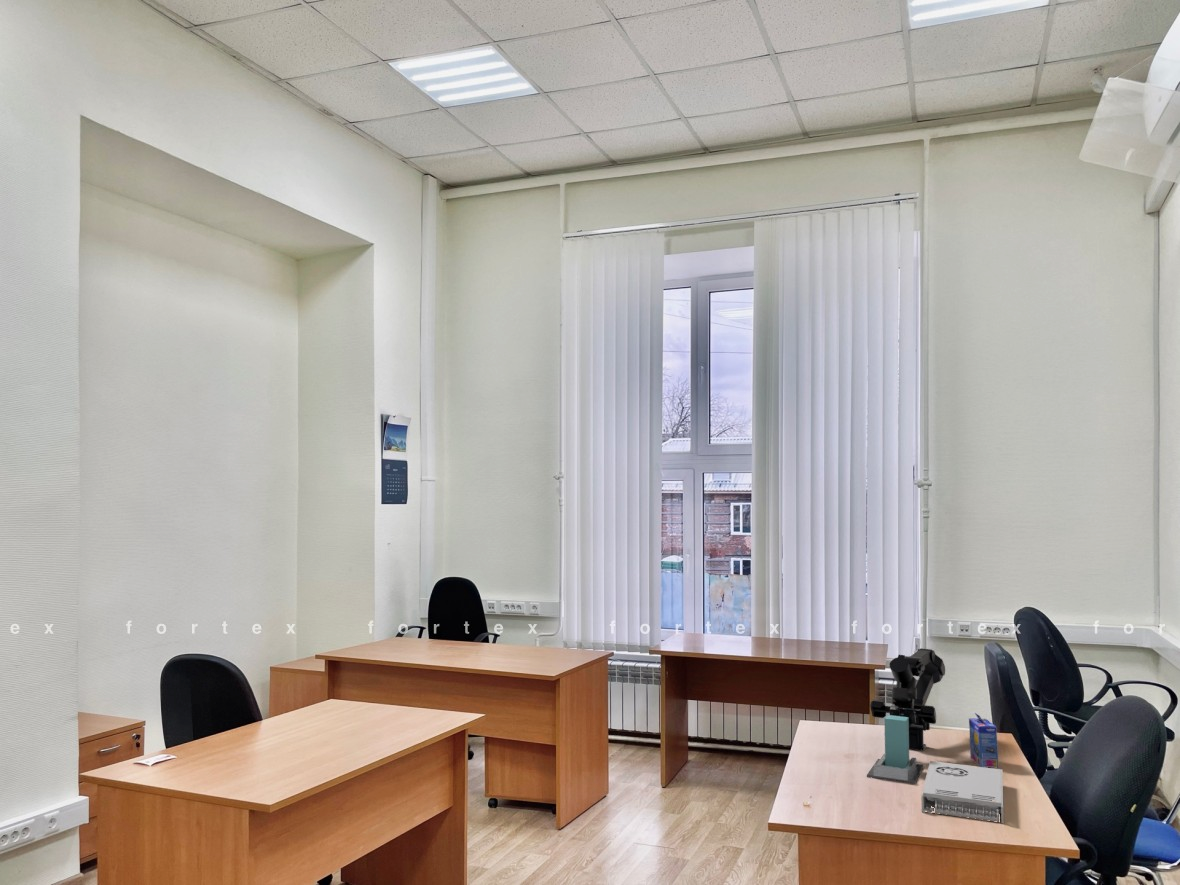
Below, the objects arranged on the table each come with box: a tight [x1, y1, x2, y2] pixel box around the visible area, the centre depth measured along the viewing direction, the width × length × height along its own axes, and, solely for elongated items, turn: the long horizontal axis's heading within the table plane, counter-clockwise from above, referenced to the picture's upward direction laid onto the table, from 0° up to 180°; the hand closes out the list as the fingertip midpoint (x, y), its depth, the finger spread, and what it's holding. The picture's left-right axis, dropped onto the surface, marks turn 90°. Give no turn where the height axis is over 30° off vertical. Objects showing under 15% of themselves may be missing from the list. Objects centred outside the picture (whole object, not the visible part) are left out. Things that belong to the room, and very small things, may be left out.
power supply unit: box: [920, 760, 1004, 824], centre depth 238 cm, size 19×33×5 cm, turn 155°
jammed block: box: [884, 714, 910, 768], centre depth 263 cm, size 5×6×14 cm
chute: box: [866, 753, 924, 785], centre depth 260 cm, size 18×13×4 cm
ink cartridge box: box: [968, 712, 999, 769], centre depth 270 cm, size 10×6×14 cm, turn 174°
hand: (900, 735), depth 269 cm, fingers closed
